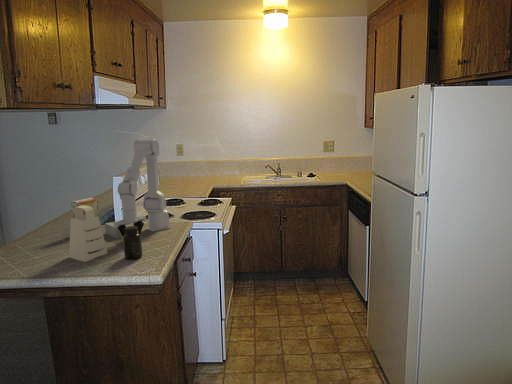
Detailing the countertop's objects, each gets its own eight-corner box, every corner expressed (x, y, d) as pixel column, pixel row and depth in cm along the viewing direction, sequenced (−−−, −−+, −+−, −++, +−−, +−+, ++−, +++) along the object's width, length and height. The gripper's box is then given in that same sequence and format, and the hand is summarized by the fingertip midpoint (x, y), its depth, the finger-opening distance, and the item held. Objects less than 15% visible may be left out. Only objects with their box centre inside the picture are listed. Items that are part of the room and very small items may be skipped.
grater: (92, 250, 180) (87, 203, 176) (108, 254, 174) (103, 205, 170) (69, 257, 171) (63, 208, 168) (84, 261, 165) (79, 211, 162)
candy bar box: (81, 237, 199) (77, 202, 196) (74, 236, 201) (70, 201, 198) (100, 231, 208) (97, 198, 205) (93, 230, 211) (90, 197, 208)
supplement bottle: (121, 257, 169) (118, 227, 167) (137, 253, 174) (134, 224, 172) (130, 261, 164) (127, 230, 162) (146, 256, 169) (143, 227, 167)
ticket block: (116, 231, 205) (115, 221, 205) (127, 236, 197) (126, 225, 196) (105, 233, 202) (104, 223, 201) (116, 238, 193) (115, 227, 192)
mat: (124, 230, 209) (124, 229, 209) (150, 241, 190) (150, 240, 190) (98, 235, 200) (98, 235, 200) (122, 247, 181) (122, 247, 181)
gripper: (139, 205, 193) (141, 234, 195) (108, 211, 182) (111, 242, 185) (147, 207, 188) (150, 237, 190) (117, 213, 178) (120, 245, 180)
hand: (131, 240), depth 187 cm, fingers closed on stub, 5 cm apart
